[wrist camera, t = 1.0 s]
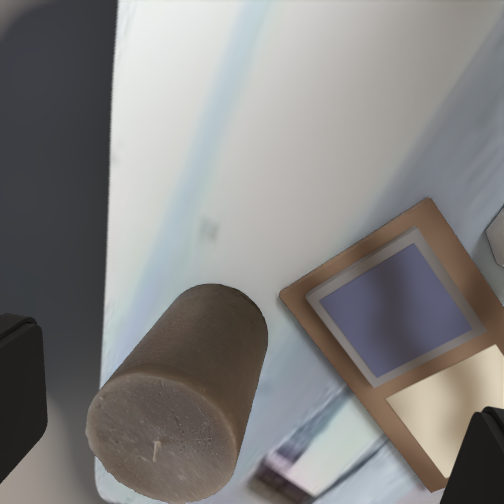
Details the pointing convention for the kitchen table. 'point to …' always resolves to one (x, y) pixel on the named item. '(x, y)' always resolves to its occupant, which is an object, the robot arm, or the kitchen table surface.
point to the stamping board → (409, 334)
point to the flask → (497, 238)
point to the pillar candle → (182, 397)
